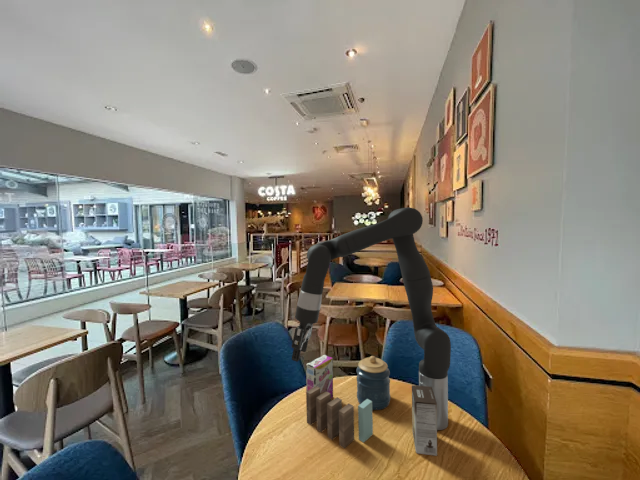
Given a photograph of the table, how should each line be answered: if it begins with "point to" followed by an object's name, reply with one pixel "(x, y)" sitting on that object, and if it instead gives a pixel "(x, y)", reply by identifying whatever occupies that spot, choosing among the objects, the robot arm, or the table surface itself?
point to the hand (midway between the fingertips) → (299, 355)
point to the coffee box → (424, 420)
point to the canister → (373, 382)
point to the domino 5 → (365, 420)
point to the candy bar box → (320, 374)
